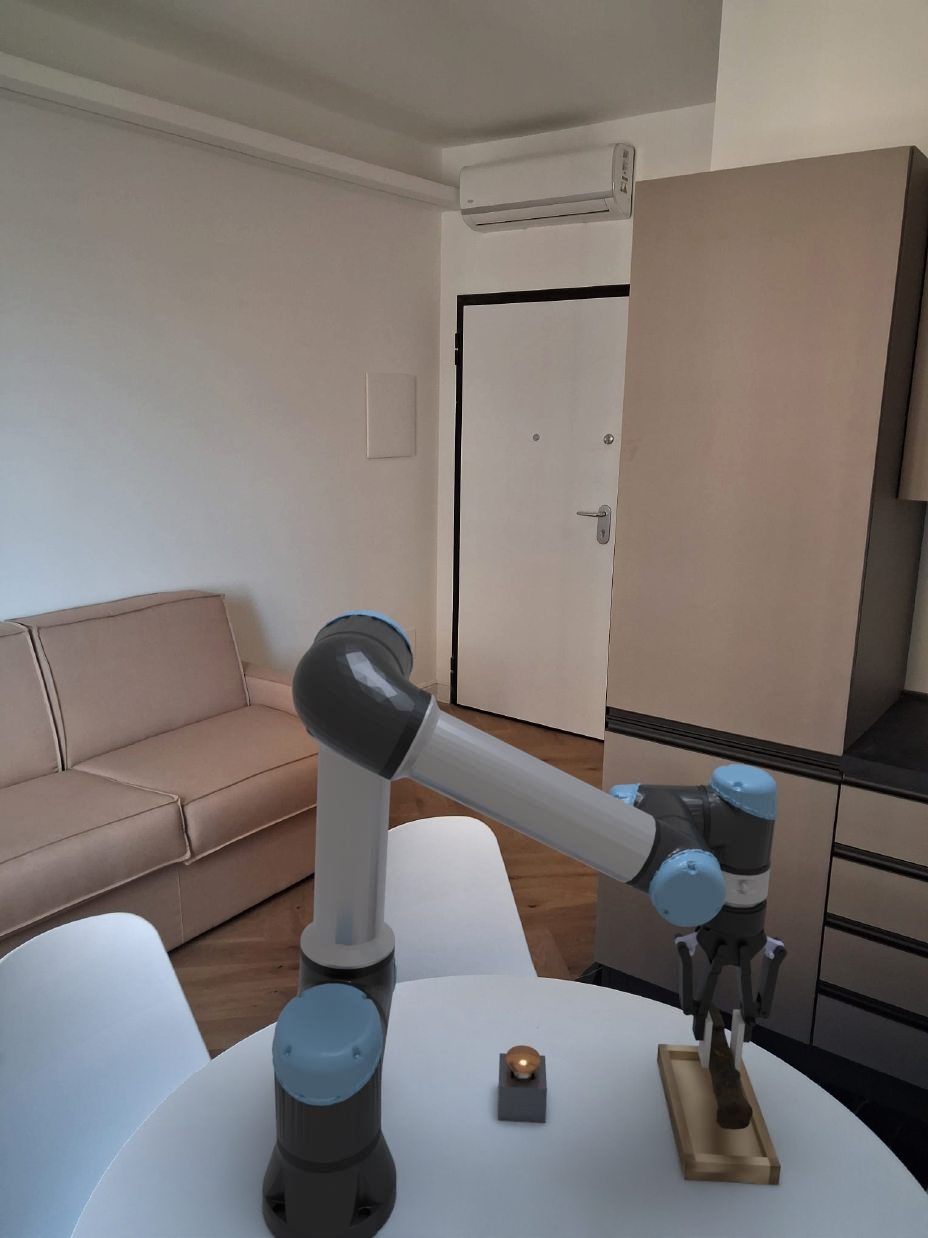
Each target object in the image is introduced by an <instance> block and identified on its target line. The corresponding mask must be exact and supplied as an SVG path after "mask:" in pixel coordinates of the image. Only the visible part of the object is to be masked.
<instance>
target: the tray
mask: <svg viewBox="0 0 928 1238" xmlns="http://www.w3.org/2000/svg"><path fill="white" fill-rule="evenodd" d="M698 1048H699V1045H690V1044H689V1045H686V1044H683V1045H682V1044H670V1043H669V1044H667V1043H658V1044H657V1054H656V1055H657V1056H656V1061H657V1066H658V1070H659V1074H660V1075H659V1077H660V1078H661V1083H662V1089H663V1093H664V1097H665V1102H666V1106H667V1110H668V1115H669V1119H670V1123H671V1129H672V1133H673V1137H674V1141H675V1145H676V1150H677V1156H678V1159H679V1164H680V1168H681V1172H682V1176H683V1180H685V1181H686V1180H687V1181H688V1180H689V1181H690V1180H691V1181H703V1182H704V1181H707V1182H719V1183H720V1182H724V1183H739V1184H740V1183H742V1184H755V1185H772V1186H773V1185H774V1186H775V1185H776V1186H779V1185H780V1176H781V1170H782V1169H781V1168H782V1166H781V1163H780V1159H779V1158H778V1155H777V1152H776V1149H775V1146H774V1143H773V1141H772V1138H771V1135H770V1133H769V1130H768V1126H767V1123H766V1120H765V1118H764V1116H763V1113H762V1109H761V1107H760V1104H759V1102H758V1099H757V1096H756V1092H755V1091H754V1088H753V1084H752V1081H751V1078H750V1076H749V1073H748V1071H747V1068H746V1065H745V1062H744V1059H743V1057H742V1058H741V1069H736V1070H738V1071H739V1072H740V1075H741V1077H740V1081H741V1088H742V1091H743V1095H744V1098H745V1100H746V1101H748V1103H749V1104H750V1105H751V1107H752V1108H753V1109H752V1111H753V1114H752V1117H751V1119H750V1124H749V1126H747V1127H746V1128H744V1129H736V1130H733V1129H723V1128H721V1127H720V1126H719V1124H718V1123H717V1122H716V1119H717V1109H718V1105H717V1100H716V1098H715V1094H714V1091H713V1084H712V1078H711V1074H710V1071H709V1068H702V1064H701V1061H700V1057H699V1054H698Z"/></svg>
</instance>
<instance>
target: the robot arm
mask: <svg viewBox="0 0 928 1238" xmlns="http://www.w3.org/2000/svg"><path fill="white" fill-rule="evenodd" d="M413 668H414V653H413V651H412V646H411V643H410V640H409V638H408V635H407V634H406V632H405V631H404V630H403V628H402V627H401V626H400V625H399V624H398V623H397V622H396V621H394V620H393V619H392V618H390V617H389V616H386V615H385V614H382V613H381V612H377V611H373V610H364V609H363V610H361V609H360V610H359V609H358V610H352V611H351V610H350V611H347V612H345V613H342V614H339V615H338V616H336V617H335V618H333V619H330V620H329V621H328V622H326V623H325V624H324V625H323V627H321V628H320V629H319V630H318V632H317V634H316V636H315V638H314V640H313V643H312V644H311V645H310V647H309V649H307V651H306V652H305V653H304V655H303V656H302V657H301V658H300V660H299V662H298V664H297V666H296V669H295V671H294V673H293V674H294V675H293V678H292V685H291V692H292V693H291V695H292V702H293V705H294V709H295V712H296V714H297V716H298V718H299V720H300V721H301V723H302V725H303V726H305V731H306V734H307V736H308V737H309V738H311V740H313V741H314V742H315V743H316V745H318V751H317V752H318V753H317V754H318V755H317V784H316V785H317V788H316V789H317V792H316V821H315V822H316V826H315V859H314V861H315V862H314V863H315V864H314V894H313V896H314V897H313V921H311V923H310V922H309V924H308V925H306V927H305V928H304V929H303V931H302V933H301V936H300V945H299V946H300V947H299V948H300V949H299V951H300V952H299V975H298V976H299V980H298V988H297V992H296V996H294V997H293V998H291V1000H290V1001H289V1002H288V1003H287V1004H286V1005H284V1007H283V1009H282V1010H281V1013H279V1016H278V1018H277V1021H276V1024H275V1027H274V1033H273V1039H272V1043H271V1044H272V1046H271V1055H272V1066H273V1075H274V1076H273V1077H274V1078H273V1079H274V1100H275V1101H274V1102H275V1103H274V1104H275V1127H276V1128H275V1130H276V1141H275V1144H274V1147H273V1150H272V1152H271V1155H270V1159H269V1161H268V1164H267V1167H266V1170H265V1172H264V1175H263V1180H262V1189H261V1193H262V1195H261V1196H262V1211H263V1216H264V1220H265V1223H266V1224H267V1226H268V1228H269V1229H270V1231H271V1233H272V1234H273V1235H274V1236H275V1237H276V1238H372V1237H373V1236H375V1234H377V1233H378V1232H379V1231H380V1230H381V1229H382V1227H383V1226H385V1224H386V1223H387V1221H388V1219H389V1218H390V1216H391V1215H392V1212H393V1210H394V1207H395V1203H396V1199H397V1194H398V1193H397V1189H398V1188H397V1180H398V1179H397V1168H396V1164H395V1163H396V1162H395V1161H394V1158H393V1155H392V1153H391V1150H390V1148H389V1146H388V1145H389V1144H388V1143H387V1140H386V1138H385V1135H384V1133H383V1130H382V1074H383V1064H384V1058H385V1057H384V1056H385V1049H386V1043H387V1037H388V1027H389V1024H390V1023H389V1021H390V1014H391V1007H392V1002H393V995H394V992H395V989H396V983H397V977H398V976H397V973H398V972H397V970H398V969H397V968H398V967H397V965H396V958H395V951H396V950H395V949H396V936H395V933H394V931H393V928H392V927H391V926H390V925H389V924H388V923H386V921H385V907H386V906H385V902H386V901H385V900H386V885H387V884H386V882H387V864H388V863H387V861H388V843H389V825H390V824H389V823H390V822H389V821H390V820H389V819H390V818H389V817H390V803H391V801H390V799H391V782H394V781H397V780H400V779H403V778H406V779H410V780H412V781H414V782H416V783H417V784H419V785H422V786H424V787H426V788H428V789H430V790H432V791H434V792H436V793H438V794H440V795H442V796H445V797H447V798H449V799H451V800H452V801H455V802H457V803H459V804H461V805H463V806H465V807H467V808H469V809H471V810H473V811H475V812H478V813H479V814H482V815H484V816H486V817H487V818H490V819H492V820H494V821H495V822H497V823H499V824H502V825H504V826H505V827H507V828H510V829H512V830H515V831H517V832H518V833H521V834H522V835H525V836H527V837H528V838H530V839H532V840H535V841H537V842H539V843H541V844H543V845H544V846H545V845H546V846H547V847H548V848H551V849H553V850H555V851H557V852H559V853H560V854H561V853H562V854H563V855H565V856H567V857H570V858H571V859H574V860H576V861H577V862H580V863H582V864H584V865H585V866H588V867H589V868H592V869H594V870H597V871H598V872H601V873H602V874H604V875H607V876H609V878H610V877H611V878H612V879H615V880H617V881H619V882H621V883H623V884H625V885H627V886H629V887H631V888H633V889H634V890H636V891H638V892H640V893H643V894H644V895H646V896H648V897H649V898H650V899H649V900H650V903H651V904H652V906H653V907H654V908H655V909H656V911H657V913H658V914H659V915H660V916H661V917H662V918H663V919H664V920H665V921H667V922H668V923H670V924H672V925H674V926H678V927H682V928H691V927H692V928H694V927H695V928H694V932H692V933H689V934H687V935H683V934H682V933H676V934H674V936H673V940H674V943H675V947H676V950H677V952H678V981H679V982H678V985H679V986H678V990H679V992H678V994H679V995H678V996H679V1003H680V1007H681V1010H682V1013H683V1014H684V1015H685V1016H692V1027H691V1028H692V1033H693V1036H694V1040H695V1041H698V1046H699V1048H698V1054H699V1057H700V1061H701V1064H702V1068H709V1058H710V1047H711V1036H712V1025H713V1022H712V1019H711V1016H710V1013H709V1008H710V1005H711V1002H712V1000H713V996H714V994H715V990H716V987H717V982H718V979H719V975H721V974H722V971H723V967H726V966H734V967H735V969H736V979H737V981H736V982H737V990H738V991H737V992H738V1001H739V1007H740V1008H739V1009H733V1010H732V1011H733V1012H732V1021H731V1029H730V1030H731V1031H730V1032H731V1033H730V1042H729V1048H730V1052H731V1055H732V1058H733V1061H734V1065H735V1068H736V1069H741V1058H742V1059H743V1047H744V1043H747V1044H748V1043H751V1040H752V1033H753V1027H755V1026H756V1024H757V1020H756V1019H758V1018H759V1019H760V1018H761V1019H764V1020H766V1019H768V1018H769V1017H770V1015H771V1012H772V1011H771V1010H772V1007H773V1006H772V1005H773V1001H774V995H775V990H776V986H777V980H778V975H779V971H780V969H779V968H780V966H781V965H782V963H783V961H784V960H785V958H786V956H787V955H788V951H787V949H786V947H785V945H784V943H783V941H782V939H781V938H780V937H778V936H777V937H773V938H772V937H770V936H768V935H767V933H765V926H766V925H765V924H766V916H767V908H768V907H767V906H768V905H767V904H768V901H767V897H768V895H769V894H768V893H769V885H770V884H769V883H770V873H771V862H772V860H771V859H772V852H773V845H774V844H773V843H774V837H775V836H774V835H775V828H776V820H777V818H778V811H777V810H778V786H777V782H776V780H775V779H774V778H773V777H772V775H771V774H770V773H768V772H767V771H765V770H764V769H762V768H761V769H760V768H758V767H756V766H753V765H752V766H751V765H747V764H741V763H740V764H739V763H736V764H734V763H731V764H728V765H721V766H718V767H717V768H715V769H714V770H713V772H712V774H711V779H710V780H709V783H708V784H700V785H685V784H684V785H683V784H682V785H681V784H656V783H655V784H653V783H651V784H650V783H649V784H648V783H647V784H646V783H642V782H637V783H631V784H628V783H627V784H616V785H614V786H612V787H611V788H610V789H609V791H608V793H607V792H605V791H603V790H602V789H599V788H597V787H595V786H593V785H591V784H590V783H588V782H586V781H583V780H581V779H579V778H578V777H576V776H573V775H572V774H569V773H568V772H566V771H563V770H561V769H560V768H557V767H556V766H554V765H551V764H549V763H547V762H545V761H543V760H541V759H539V758H538V757H536V756H533V755H531V754H529V753H527V752H525V751H524V750H522V749H519V748H517V747H516V746H513V745H511V744H509V743H507V742H505V741H503V740H502V739H499V738H498V737H495V736H493V735H491V734H490V733H487V732H485V731H484V730H482V729H479V728H477V727H475V726H474V725H472V724H469V723H467V722H466V721H464V720H462V719H459V718H457V717H455V716H454V715H451V714H450V713H447V712H445V711H443V710H441V709H440V707H439V705H438V702H437V699H436V697H435V695H434V694H432V693H431V692H429V691H426V690H424V689H422V688H420V687H419V686H417V685H415V684H414V683H412V682H411V681H410V677H411V673H412V670H413ZM697 945H699V947H701V949H702V950H703V952H704V953H705V955H704V964H703V967H702V971H701V975H700V978H699V981H698V985H697V989H696V993H695V996H693V995H694V994H693V993H694V989H693V987H694V986H693V984H694V982H693V979H694V977H693V975H694V974H693V973H694V972H693V968H694V967H693V960H692V956H694V954H695V952H696V946H697ZM761 950H763V951H762V952H764V953H763V956H762V962H761V967H760V973H759V976H758V977H759V978H758V982H757V988H756V993H755V999H754V996H753V986H752V964H751V961H752V960H753V959H754V957H756V955H758V954H759V952H760V951H761ZM693 997H694V998H693Z"/></svg>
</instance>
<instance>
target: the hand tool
mask: <svg viewBox="0 0 928 1238" xmlns="http://www.w3.org/2000/svg"><path fill="white" fill-rule="evenodd" d="M709 1013H710V1016H711V1019H712V1022H713V1025H712V1036H711V1047H710V1058H709V1071H710V1074H711V1078H712V1084H713V1091H714V1094H715V1098H716V1100H717V1105H718V1109H717V1119H716V1122H717V1123H718V1124H719V1126H720V1127H721V1128H723V1129H733V1130H736V1129H744V1128H746V1127H747V1126H749V1124H750V1119H751V1117H752V1114H753V1111H752V1109H753V1108H752V1107H751V1105H750V1104H749V1103H748V1101H746V1100H745V1098H744V1095H743V1091H742V1088H741V1081H740V1077H741V1075H740V1072H739V1071H738V1070H736V1068H735V1065H734V1061H733V1058H732V1055H731V1052H730V1044H729V1042H728V1039H727V1035H726V1032H725V1031H726V1030H725V1029H726V1026H725V1022H724V1020H723V1016H722V1013H721V1011H720V1009H719V1008H718V1006H717V1005H716V1004H715V1003H714V1002H712V1001H711V1005H710V1008H709Z"/></svg>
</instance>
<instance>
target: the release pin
mask: <svg viewBox="0 0 928 1238" xmlns="http://www.w3.org/2000/svg"><path fill="white" fill-rule="evenodd" d="M505 1054H506V1065H507V1067H508V1068H509V1069H510V1070H511V1071H512V1072H513V1079H530V1080H532V1073H534V1072H536V1071H537V1070H538V1069H539V1067H540V1055H541V1054H540V1053H539V1052H538V1050H537V1049H535V1048H534V1047H532V1046H528V1045H524V1044H523V1045H522V1044H521V1045H520V1044H519V1045H515V1046H512V1047H511V1048H509V1049H508V1050H507V1052H506V1053H505Z"/></svg>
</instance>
